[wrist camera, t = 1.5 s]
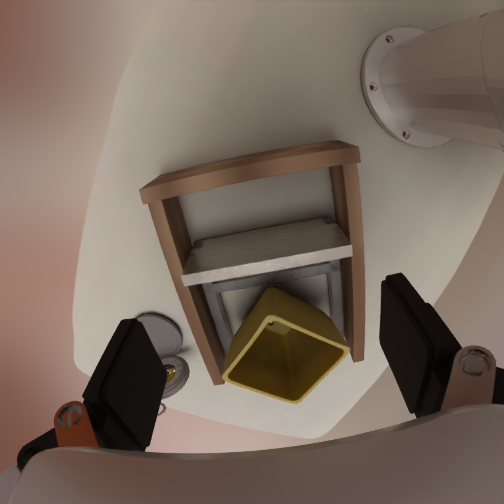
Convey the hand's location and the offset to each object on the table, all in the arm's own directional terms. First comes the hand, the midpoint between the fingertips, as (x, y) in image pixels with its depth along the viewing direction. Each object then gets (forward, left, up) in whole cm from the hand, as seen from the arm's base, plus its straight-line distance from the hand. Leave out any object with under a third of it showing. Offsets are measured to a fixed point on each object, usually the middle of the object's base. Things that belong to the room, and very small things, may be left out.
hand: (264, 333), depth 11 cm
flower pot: (0, +13, -20) cm, 24 cm away
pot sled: (0, +11, -20) cm, 23 cm away
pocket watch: (+15, +15, -20) cm, 30 cm away
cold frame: (0, +8, -20) cm, 21 cm away
